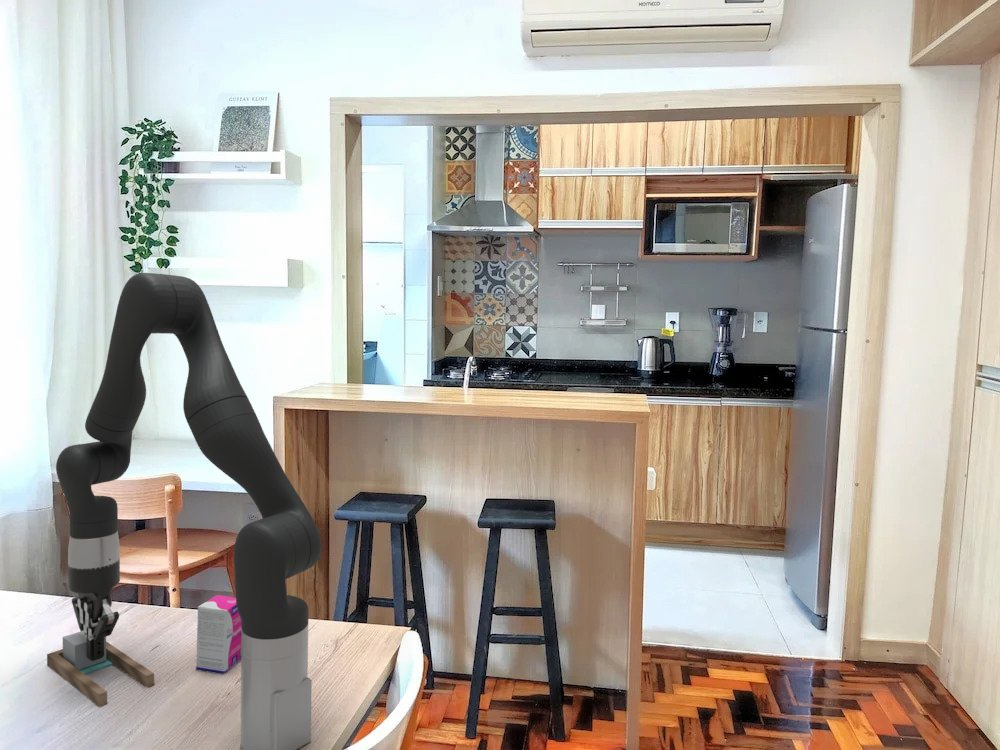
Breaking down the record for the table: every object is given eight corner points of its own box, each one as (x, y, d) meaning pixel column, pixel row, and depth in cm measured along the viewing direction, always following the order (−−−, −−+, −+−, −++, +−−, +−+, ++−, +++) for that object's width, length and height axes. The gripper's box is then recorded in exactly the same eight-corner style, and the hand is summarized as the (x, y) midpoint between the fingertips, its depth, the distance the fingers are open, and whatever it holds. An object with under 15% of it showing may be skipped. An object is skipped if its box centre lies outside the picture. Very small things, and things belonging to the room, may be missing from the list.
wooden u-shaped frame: (154, 684, 114) (154, 673, 114) (99, 706, 107) (98, 694, 107) (99, 647, 126) (99, 637, 126) (47, 665, 119) (47, 654, 119)
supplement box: (225, 675, 118) (226, 610, 117) (195, 670, 119) (195, 606, 118) (244, 659, 123) (245, 597, 123) (215, 655, 125) (215, 593, 124)
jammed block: (106, 660, 120) (106, 635, 120) (75, 671, 116) (74, 645, 116) (93, 651, 123) (93, 627, 123) (62, 661, 119) (62, 637, 119)
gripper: (135, 562, 115) (136, 662, 116) (100, 545, 123) (101, 639, 124) (87, 574, 109) (88, 679, 110) (53, 555, 117) (55, 654, 118)
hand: (95, 658), depth 117 cm, fingers closed
